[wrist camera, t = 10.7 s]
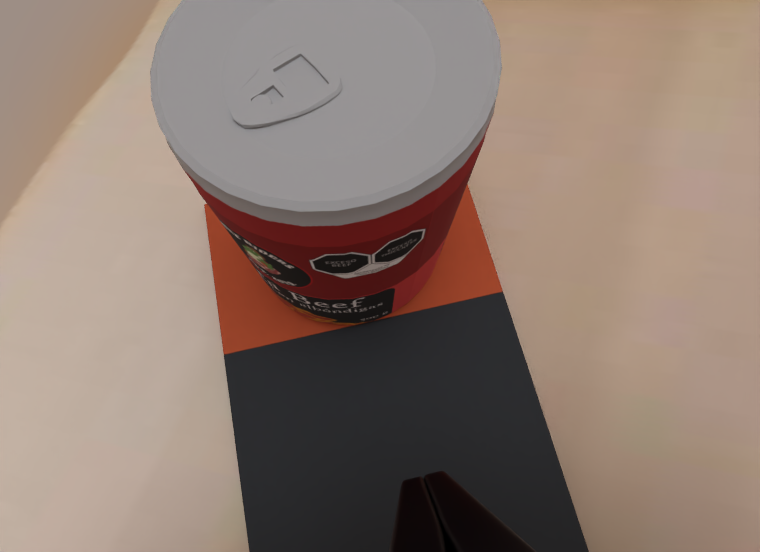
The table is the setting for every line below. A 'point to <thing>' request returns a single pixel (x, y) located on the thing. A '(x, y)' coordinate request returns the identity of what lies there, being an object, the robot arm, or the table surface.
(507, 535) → the robot arm
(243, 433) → the mat
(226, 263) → the pad
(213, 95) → the canned food
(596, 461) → the table surface
